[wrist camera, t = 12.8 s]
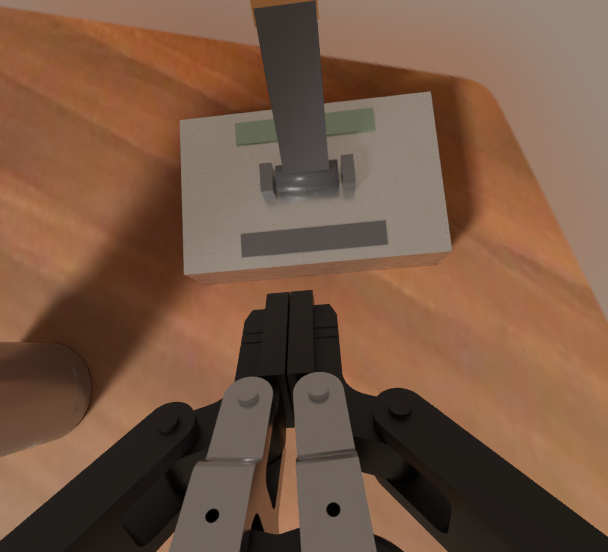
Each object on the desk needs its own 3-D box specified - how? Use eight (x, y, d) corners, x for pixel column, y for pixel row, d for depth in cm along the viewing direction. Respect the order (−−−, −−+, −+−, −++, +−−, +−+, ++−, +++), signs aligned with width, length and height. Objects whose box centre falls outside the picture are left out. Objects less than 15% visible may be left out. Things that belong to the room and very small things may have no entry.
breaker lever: (278, 198, 36) (236, -7, 24) (279, 180, 37) (239, -22, 25) (339, 192, 36) (327, -19, 24) (337, 174, 37) (324, -34, 25)
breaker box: (206, 285, 42) (174, 270, 34) (201, 150, 45) (171, 108, 37) (436, 265, 41) (458, 245, 33) (418, 126, 43) (435, 76, 35)
